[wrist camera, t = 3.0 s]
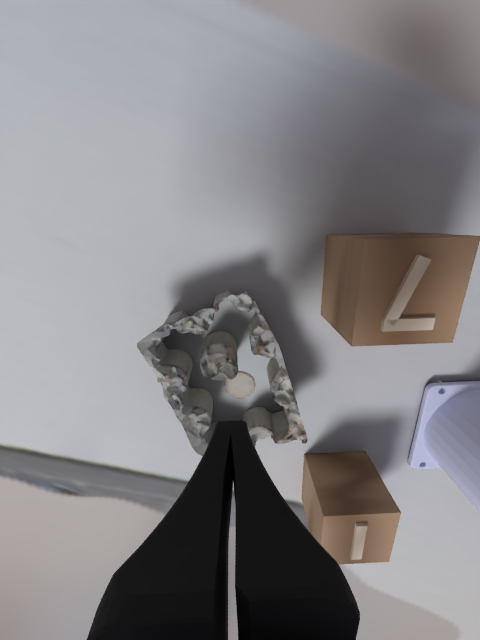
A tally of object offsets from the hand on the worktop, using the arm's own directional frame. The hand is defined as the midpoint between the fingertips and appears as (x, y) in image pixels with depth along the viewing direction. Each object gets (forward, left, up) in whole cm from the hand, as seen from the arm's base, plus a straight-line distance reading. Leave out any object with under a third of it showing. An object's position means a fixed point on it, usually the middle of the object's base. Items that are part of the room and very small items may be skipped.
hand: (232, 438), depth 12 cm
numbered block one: (-8, +11, -7) cm, 15 cm away
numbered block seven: (-9, -6, -7) cm, 13 cm away
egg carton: (0, 0, -7) cm, 7 cm away
